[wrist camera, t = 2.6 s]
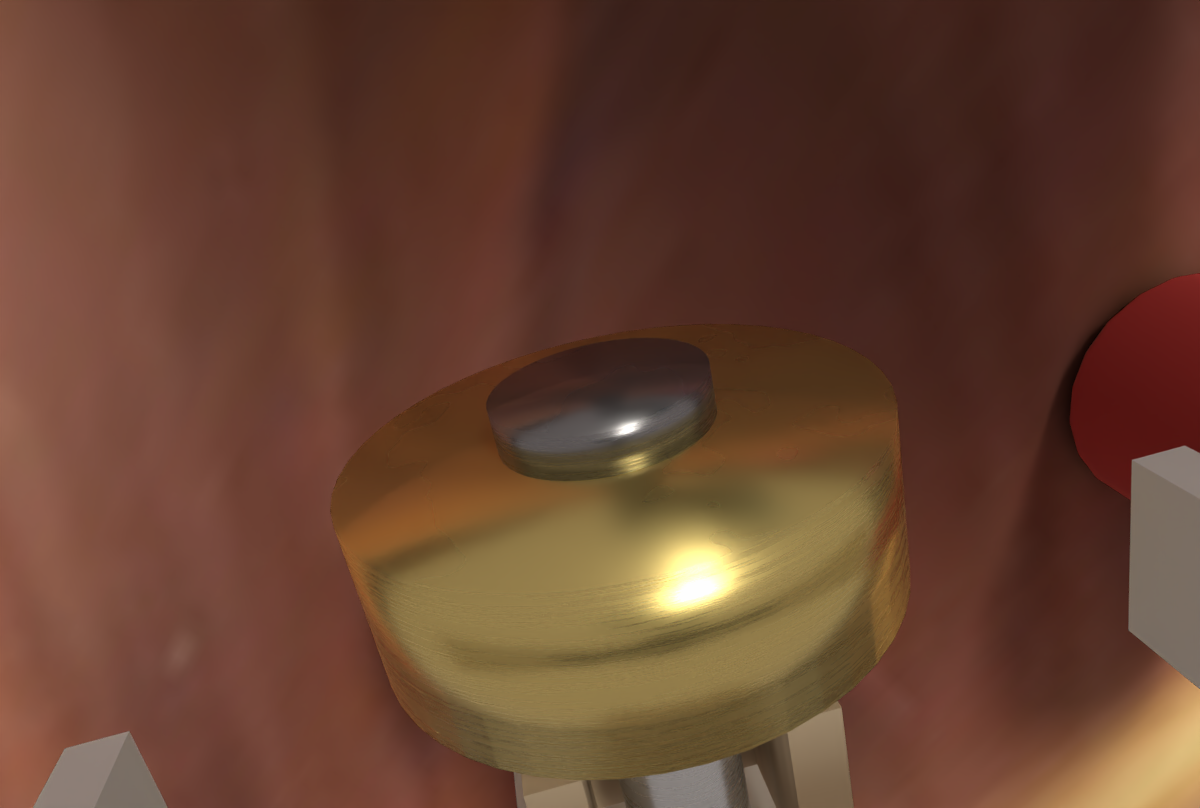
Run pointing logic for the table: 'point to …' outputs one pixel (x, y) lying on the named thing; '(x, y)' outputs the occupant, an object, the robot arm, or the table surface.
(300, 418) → the table surface
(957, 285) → the table surface
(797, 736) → the cradle
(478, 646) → the gold disc on rod
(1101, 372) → the beer can
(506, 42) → the table surface
